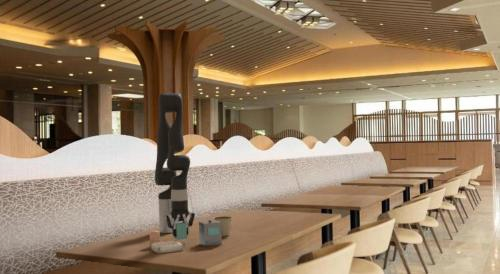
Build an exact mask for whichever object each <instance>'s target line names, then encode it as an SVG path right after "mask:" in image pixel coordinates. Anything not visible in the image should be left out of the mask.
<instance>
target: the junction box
mask: <svg viewBox="0 0 500 274" xmlns="http://www.w3.org/2000/svg"><path fill="white" fill-rule="evenodd" d="M198 237H199V245H201V246H203V247H205V248H206V246H207V247H212V246H221V245H223V238H222V237H223V236H222V232H221V222H219V221H217V220H214V219H213V220H211V219H208V220H204V221H198Z"/></svg>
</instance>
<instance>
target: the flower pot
mask: <svg viewBox="0 0 500 274" xmlns="http://www.w3.org/2000/svg"><path fill="white" fill-rule="evenodd" d="M212 219H213V220H217V221H219V222H221V232H222V237H226V236H227V237H228V236H230V234H231V225H232V224H231V223H232V219H233V216H228V215H227V216H225V215H224V216H222V215H221V216H215V217H213V218H212Z"/></svg>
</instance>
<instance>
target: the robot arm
mask: <svg viewBox="0 0 500 274" xmlns="http://www.w3.org/2000/svg"><path fill="white" fill-rule="evenodd" d="M157 101H158V103H157V104H158V127H157V140H156V161H155V162H156V163H155V169H154V182H155V185H156V186H161V187H162V186H169V187H168V188H166V189H165V190H163V191H160V192H159V193H158V196H157V198H158V224H159V225H158V226H159V227H158V228H159V231H160V234H161V233H162V234H170V233H171V234H172V236H173V237H177V235H176V224H178V222H184V223H187V236H188V235H189V232H190V231H189V228H191V227H192V226H193V224H194V220H195V215H196V213H194V212H190V211H189V200H188V199H189V196H188V195H189V193H188V183H187V181H188V175H189V174H188V173H189V170H190V167H191V166H190V165H191V159H190V157H189V155H186V154H181V155H180V154H179V153H181V152H183V151H184V150H185V144H184V143H185V142H184V135H183V127H184V126H183V119H184V118H183V116H184V114H183V113H184V112H183V107H184V106H183V97H182V95H181V93H178V92H177V93H175V92H173V93H172V92H170V93H169V92H167V93H165V92H163V93H160V94H159V95H158V100H157ZM166 113H167V114H169V113H175V118H174V121H173V122H172V125H171V124H170V122H169V121H168V119H167V116H166ZM175 154H176V155H175ZM178 154H179V155H178ZM165 163H166V166H165ZM164 166H165V167H164ZM178 171H179V172H180V171H181V172H180V174H179V175H178V174H177V172H178ZM188 217H189V219H187V218H188Z"/></svg>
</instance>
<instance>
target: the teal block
mask: <svg viewBox="0 0 500 274" xmlns="http://www.w3.org/2000/svg"><path fill="white" fill-rule="evenodd" d="M176 235H177V237H174V236H173V237H174V239H175V240H176V241H177V240H185V239H188V235H187V223H184V222H183V221H180V222H178V224H176Z"/></svg>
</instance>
